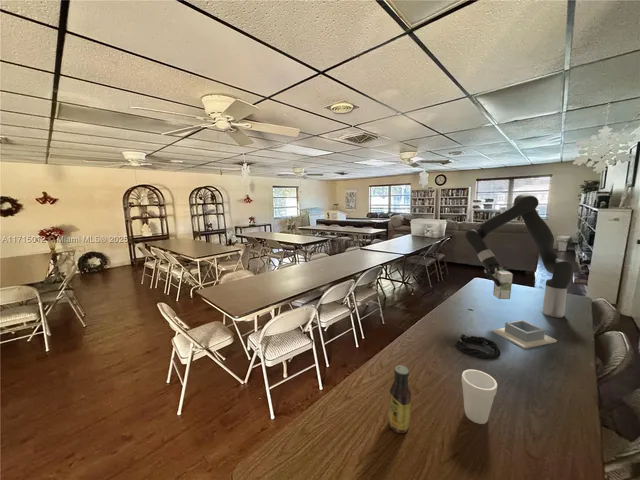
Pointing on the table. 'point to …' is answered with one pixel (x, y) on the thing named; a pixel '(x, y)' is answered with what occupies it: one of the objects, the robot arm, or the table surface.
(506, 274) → the syrup box
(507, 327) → the end holder
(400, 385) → the sauce bottle
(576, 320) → the table surface
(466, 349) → the cable
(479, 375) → the foam cup
